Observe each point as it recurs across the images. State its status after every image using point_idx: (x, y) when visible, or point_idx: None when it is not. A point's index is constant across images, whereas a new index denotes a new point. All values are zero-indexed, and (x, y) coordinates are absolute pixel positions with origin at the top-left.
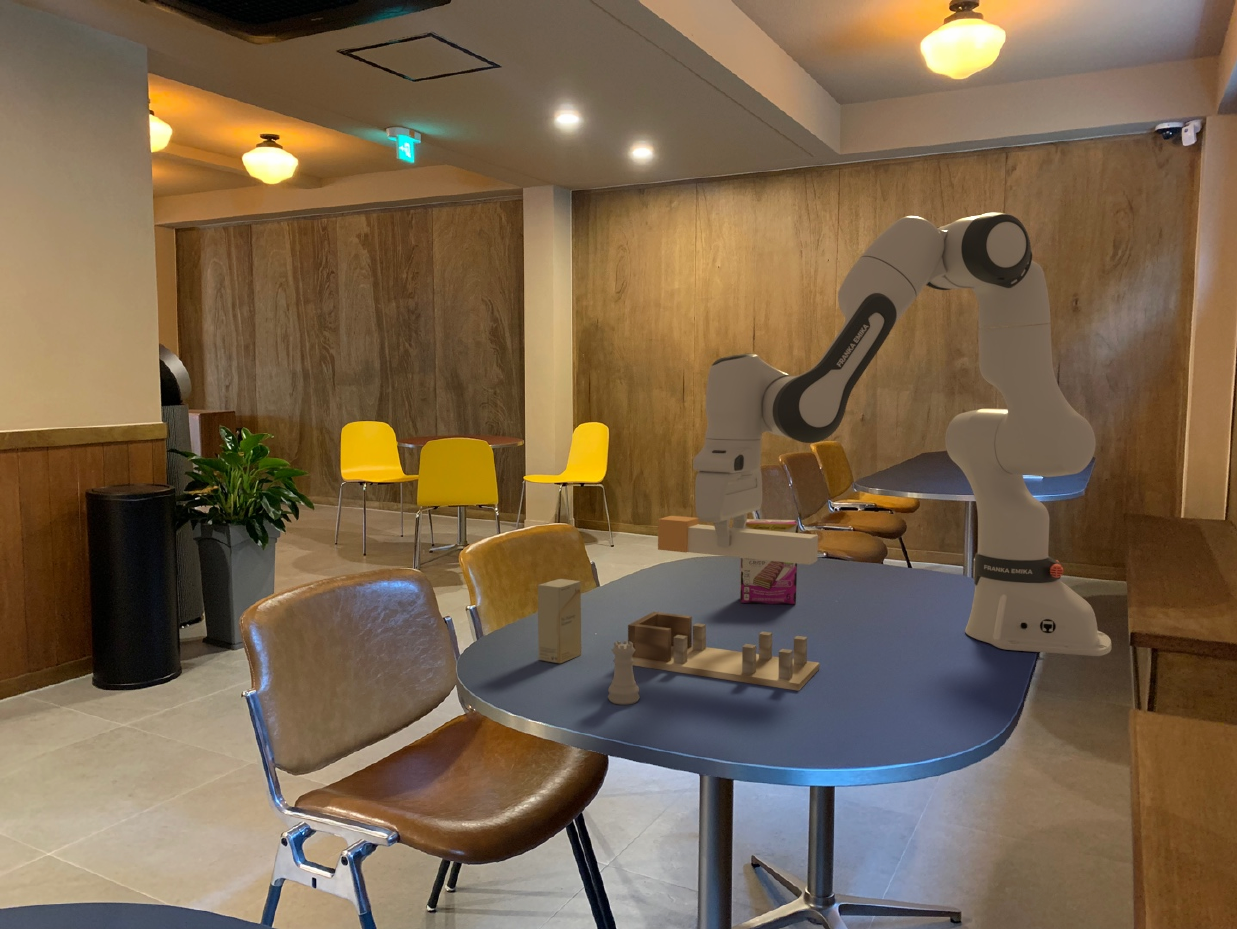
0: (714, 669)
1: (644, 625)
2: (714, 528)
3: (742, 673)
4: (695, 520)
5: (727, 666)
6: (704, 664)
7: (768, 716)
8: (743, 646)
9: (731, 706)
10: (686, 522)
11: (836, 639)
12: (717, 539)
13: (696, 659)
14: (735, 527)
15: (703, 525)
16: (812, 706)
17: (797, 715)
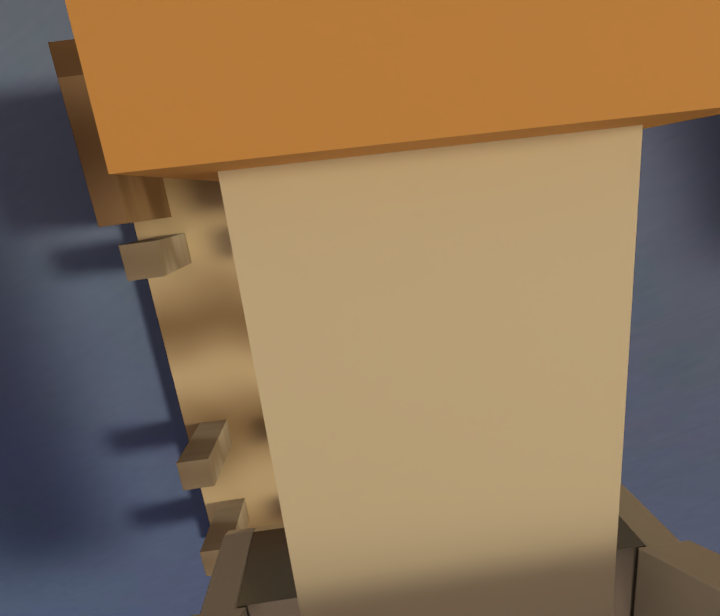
0: (181, 355)
1: (91, 108)
2: (395, 519)
3: (198, 424)
4: (592, 122)
5: (225, 370)
6: (200, 314)
7: (42, 549)
8: (180, 464)
9: (36, 472)
10: (120, 166)
11: (639, 453)
12: (212, 575)
13: (225, 274)
14: (678, 603)
15: (572, 267)
16: (153, 586)
17: (88, 584)
